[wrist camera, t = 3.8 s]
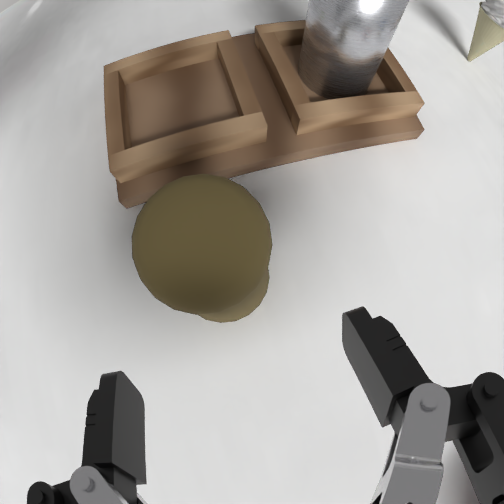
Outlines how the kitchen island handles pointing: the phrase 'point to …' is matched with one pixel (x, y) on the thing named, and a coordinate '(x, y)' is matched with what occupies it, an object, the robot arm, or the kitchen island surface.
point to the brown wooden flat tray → (238, 110)
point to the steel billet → (346, 44)
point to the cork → (204, 247)
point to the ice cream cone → (487, 28)
